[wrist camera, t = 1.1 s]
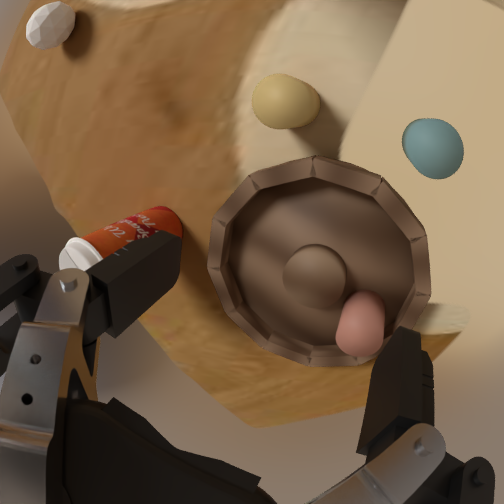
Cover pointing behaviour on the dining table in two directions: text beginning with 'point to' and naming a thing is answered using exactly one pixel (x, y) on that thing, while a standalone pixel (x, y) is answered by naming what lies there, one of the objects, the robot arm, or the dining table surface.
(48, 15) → the geometric ball
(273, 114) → the ochre bead
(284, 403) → the dining table surface
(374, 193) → the walnut tray
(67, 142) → the dining table surface
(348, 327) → the pink rounded piece
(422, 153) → the pale blue rounded piece
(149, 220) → the paper cup
